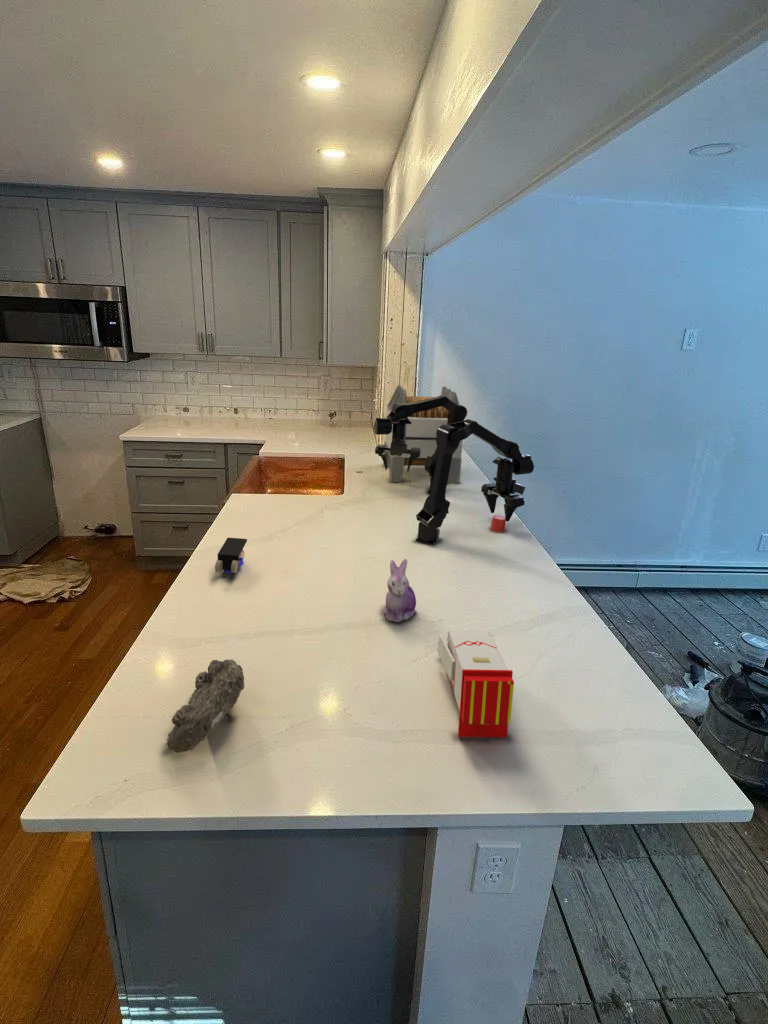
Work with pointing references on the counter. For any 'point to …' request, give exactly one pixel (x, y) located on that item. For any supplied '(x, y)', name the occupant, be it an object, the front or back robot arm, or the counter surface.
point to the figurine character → (230, 556)
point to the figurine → (399, 594)
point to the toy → (478, 682)
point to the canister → (498, 523)
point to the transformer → (421, 435)
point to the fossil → (206, 705)
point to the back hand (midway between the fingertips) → (397, 470)
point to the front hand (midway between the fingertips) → (499, 517)
